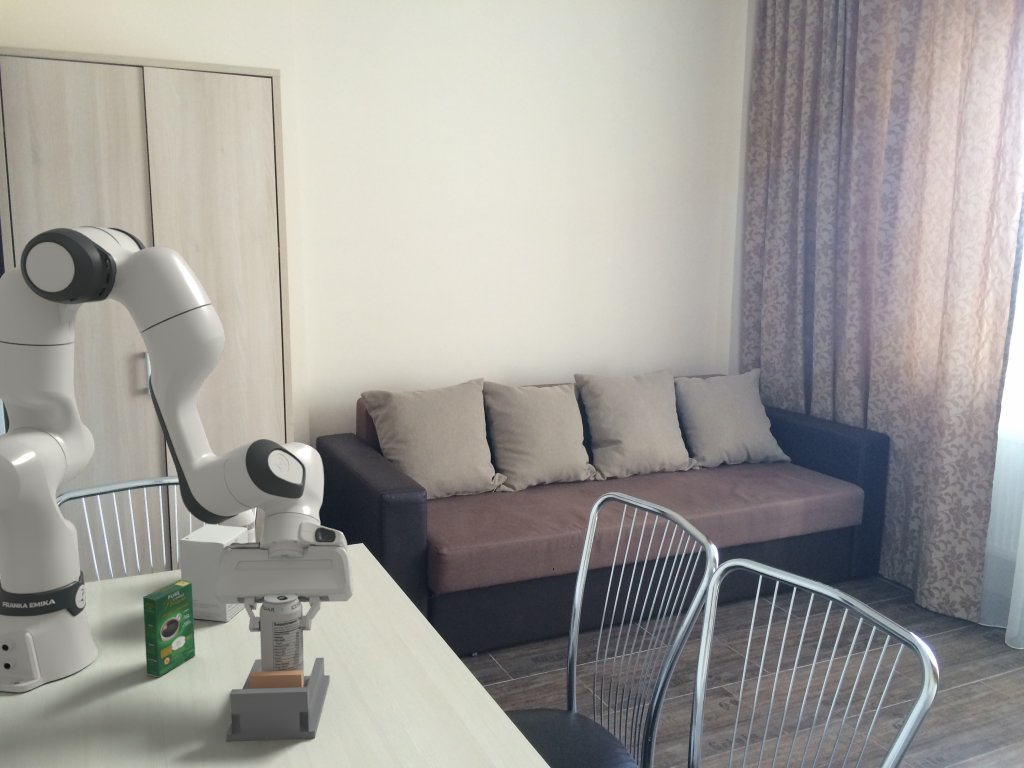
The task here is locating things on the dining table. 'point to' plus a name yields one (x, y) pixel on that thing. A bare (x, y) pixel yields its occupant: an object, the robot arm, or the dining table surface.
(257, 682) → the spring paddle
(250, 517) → the bath foam
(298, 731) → the pusher lane
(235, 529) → the supplement box
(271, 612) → the energy drink can
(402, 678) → the dining table surface
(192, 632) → the coffee box
